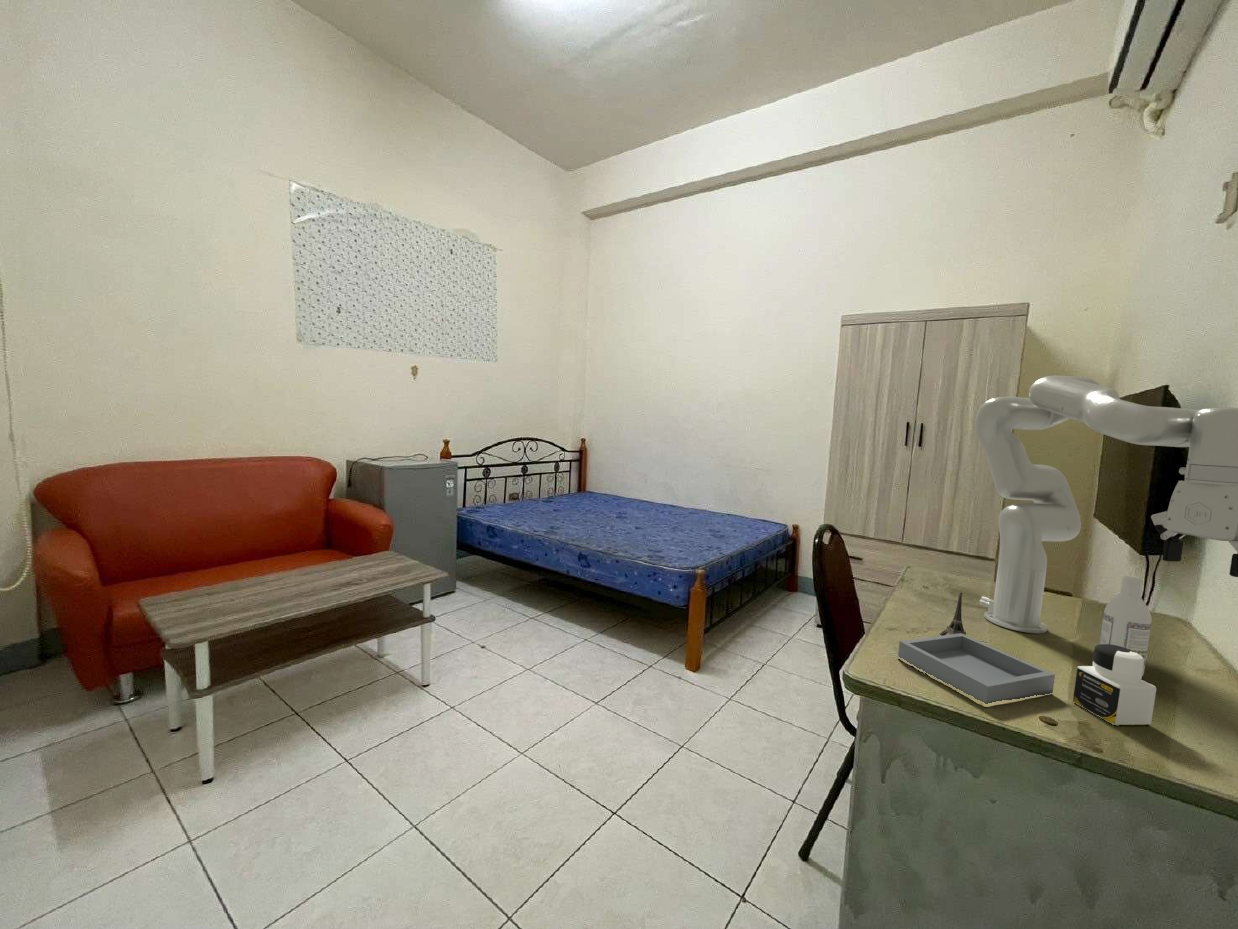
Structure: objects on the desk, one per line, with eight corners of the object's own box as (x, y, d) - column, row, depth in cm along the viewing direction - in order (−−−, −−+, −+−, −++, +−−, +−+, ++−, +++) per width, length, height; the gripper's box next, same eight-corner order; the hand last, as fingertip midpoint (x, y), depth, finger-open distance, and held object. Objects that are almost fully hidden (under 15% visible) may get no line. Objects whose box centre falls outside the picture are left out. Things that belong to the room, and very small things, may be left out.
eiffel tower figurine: (969, 661, 104) (976, 601, 103) (918, 642, 112) (924, 586, 111) (994, 646, 113) (1001, 590, 112) (946, 629, 121) (952, 577, 120)
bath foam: (1149, 674, 101) (1163, 581, 99) (1135, 681, 98) (1149, 585, 96) (1105, 659, 107) (1117, 571, 106) (1090, 665, 104) (1103, 574, 103)
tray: (897, 659, 102) (899, 641, 102) (958, 650, 108) (960, 633, 108) (985, 708, 85) (988, 686, 85) (1052, 694, 91) (1055, 674, 91)
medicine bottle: (1071, 702, 89) (1080, 639, 88) (1106, 702, 90) (1115, 640, 88) (1114, 727, 82) (1124, 659, 81) (1151, 726, 82) (1162, 659, 81)
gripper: (1143, 470, 96) (1131, 555, 97) (1267, 480, 79) (1251, 583, 80) (1176, 472, 97) (1164, 556, 98) (1306, 482, 80) (1290, 584, 81)
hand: (1203, 568), depth 89 cm, fingers open, 9 cm apart
